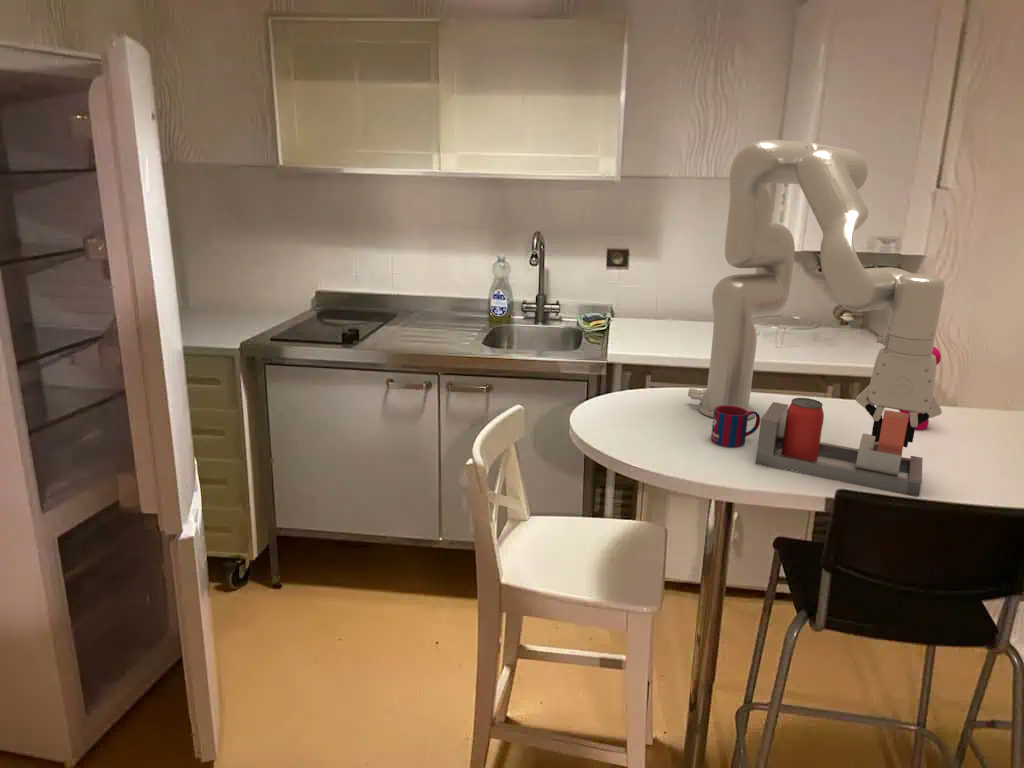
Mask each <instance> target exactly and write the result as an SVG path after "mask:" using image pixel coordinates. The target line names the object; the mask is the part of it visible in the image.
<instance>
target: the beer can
mask: <svg viewBox="0 0 1024 768" xmlns="http://www.w3.org/2000/svg"><path fill="white" fill-rule="evenodd" d="M823 406H824V405H823V402H821V401H820V400H818V399H817V400H816V399H813V398H809V397H795V398H792V399H791V403H790V405H788V410H787V417H786V424H785V431H784V438H783V445H782V449H781V451H780V452H781V453H780V454H781V455H786V456H791V457H796V458H802V459H807V460H812V461H817V462H818V457H819V456H818V450H819V444H820V442H821V438H822V437H821V436H822V430H823V425H824V424H823V423H824V418H825V417H824V409H823Z"/></svg>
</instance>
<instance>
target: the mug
mask: <svg viewBox="0 0 1024 768" xmlns="http://www.w3.org/2000/svg"><path fill="white" fill-rule="evenodd" d="M751 414H755V417H756V418H755V420H756V421H755V424H754V426H753V427H752V429H750V430H749V431H747V426H748V420H749V419H748V416H749V415H751ZM712 418H713V420H712V425H711V435H710V436H711V437H710V441H711V443H713V444H715V445H718V446H721V447H724V448H740V447H743V446H744V445H745V444H746V443H745V442H746V437H748V436H751V435H752V434H754V433H755V432H756V431H757V430H758V428H759V427H760V423H761V417H760V414H759V413H758V412H756V410H755V411H749V412H748V411H747V410H745V409H743V408H740V407H736V406H728V405H723V406H717V407H715V409H714V417H712Z"/></svg>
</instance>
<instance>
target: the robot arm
mask: <svg viewBox="0 0 1024 768" xmlns="http://www.w3.org/2000/svg"><path fill="white" fill-rule="evenodd" d="M729 171H730V172H729V208H728V214H727V215H728V216H727V224H726V231H725V232H726V234H725V241H724V242H725V243H724V257H725V261H726V262H727V264H729V266H731V267H733V268H737V269H755V273H742V274H741V273H740V274H739V273H738V274H732V275H728V276H726V277H725V276H724V278H722V279H721V280H719V281H718V282H717V283H716V285H715V286H714V288H713V290H712V298H711V300H712V301H711V302H712V310H713V311H712V313H713V331H712V339H711V340H712V341H711V350H710V351H711V352H710V358H709V359H710V361H709V370H708V378H707V388H706V389H702V390H701V389H700V390H699V389H697V388H689V389H688V393H687V396H688V397H690V399H691V400H696V401H697V400H698V401H700V402H699V403H698V406H697V407H698V408H697V410H698V411H699V412H700V413H701V414H702V415H705V416H707V417H711V418H713V417H714V409H715V407H717V406H723V405H728V406H736V407H740V408H743V409H745V410H747V411H748V412H749V411H755V412H756V410H755V408H754V407H753V406H751V405H750V401H751V400H750V398H751V390H752V382H753V377H754V375H753V374H754V366H755V358H756V352H757V351H756V350H757V341H758V337H757V330H756V328H755V325H754V322H753V318H755V317H764V316H771V315H775V314H777V313H779V312H780V311H782V310H783V309H784V307H785V306H786V305H787V303H788V299H789V295H790V290H791V289H790V288H791V282H792V277H793V276H792V275H793V267H794V259H795V253H796V246H795V240H794V237H793V234H792V232H791V230H790V229H788V228H787V226H785V225H783V224H780V223H774V222H773V223H772V222H770V217H771V211H772V202H771V196H770V193H769V190H768V189H767V187H766V185H768V184H781V185H782V184H785V185H786V184H789V185H791V184H793V185H794V184H795V185H799V187H800V189H801V191H802V193H803V195H804V196H805V197H804V198H805V199H806V201H807V204H808V205H809V207H810V209H811V211H812V213H813V215H814V217H815V219H816V221H817V223H818V225H819V227H820V230H821V231H822V239H821V242H820V251H819V252H820V256H819V259H820V267H821V272H822V274H823V277H824V278H825V280H826V283H827V285H828V287H829V289H830V291H831V292H832V295H833V296H834V297H835V299H836V301H837V302H838V303H839V304H840V306H842V307H843V308H845V309H846V310H849V311H852V312H868V311H874V310H875V311H876V310H878V311H879V310H890V315H889V319H888V320H889V321H888V327H887V331H886V332H887V333H885V334H882V335H880V334H877V337H876V343H880V344H881V345H883V346H884V347H883V348H881V349H879V351H878V354H877V356H876V359H875V360H874V361H875V362H874V365H873V369H872V372H871V373H872V374H871V377H870V383H869V385H867V386H866V387H865V388H864V389H863V390H862V391H861V392H860V393H859V394H858V395H857V396H856V397H855V401H856V403H858V404H859V405H860V406H862V407H863V408H864V409H865V410H866V412H867V413H868V415H870V417H871V418H872V420H873V424H872V425H873V426H872V431H871V435H872V436H876V437H875V442H879V438H880V432H881V427H882V421H883V414H884V411H885V409H892V410H898V411H899V410H904V411H910V420H909V422H908V423H907V429H906V434H905V439H904V444H903V448H908V445H909V443H913V442H914V436H915V432H916V430H915V427H917V426H918V425H919V424H921V423H922V422H924V421H926V420H927V419H928V420H929V419H933V418H934V417H938V416H940V415H942V413H943V411H942V407H941V406H940V404H939V403H938V400H937V398H936V396H935V395H934V390H935V383H936V375H937V374H936V373H937V365H936V357H935V355H933V354H932V350H933V346H934V345H935V344H934V343H935V338H936V334H937V330H938V329H937V328H938V323H939V319H940V313H941V308H942V303H943V298H944V293H945V282H944V280H943V279H942V278H941V277H939V276H934V275H930V274H924V273H923V274H922V273H912V272H910V271H907V270H903V269H901V268H897V267H890V266H889V267H888V266H887V267H868V268H864V266H863V265H862V262H861V260H860V259H859V256H858V255H857V252H856V249H855V246H854V241H853V240H854V239H853V238H854V232H855V231H856V230H858V229H859V228H860V227H861V226H862V225H864V224H865V222H866V221H867V219H868V216H869V209H868V207H867V205H866V203H865V202H864V200H863V197H862V196H861V195H860V193H859V190H860V189H861V188H862V187H863V186H864V184H865V183H866V181H867V178H868V173H869V172H868V171H869V169H868V165H867V162H866V159H865V158H864V157H863V156H862V155H861V153H859V151H856V150H854V149H850V148H843V147H837V146H832V145H827V144H821V143H816V142H810V141H801V140H784V139H761V140H756V141H753V142H750V143H749V144H747V145H745V146H743V148H741V149H740V150H739V151H738V152H737V154H736V156H735V157H734V158H733V161H732V163H731V167H730V170H729ZM930 407H931V409H930ZM929 409H930V410H929ZM918 413H920V414H918ZM754 417H756V415H755V414H751V415H749V416H748V420H750V419H752V418H754Z"/></svg>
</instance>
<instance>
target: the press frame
mask: <svg viewBox="0 0 1024 768" xmlns="http://www.w3.org/2000/svg"><path fill="white" fill-rule="evenodd" d="M788 408H789V404H786V403H781V402H775V401H772V402H771V404H770V405H769V407H768V408H767V410H766V411H765V413H764V415H763V416H762V417H761V418H760V423H759V431H758V439H757V447H756V455H755V462H754V463H756V464H755V465H759V464H761V465H760V466H764V465H765V466H764V467H769V466H770V468H774V467H775V469H779V468H780V470H784V469H787V470H786V471H789V470H793V471H792V472H794V471H798V472H797V473H799V472H802V473H801V474H804V473H807V474H806V475H809V474H811V475H810V476H814V475H816V476H815V477H819V476H820V477H819V478H824V477H826V478H825V479H829V478H830V480H833V479H835V481H838V480H840V481H839V482H843V481H845V483H848V482H849V484H853V485H858V486H864V487H868V488H873V489H879V490H883V491H889V492H894V493H899V494H905V495H909V496H913V497H919V496H920V491H921V487H922V482H923V459H924V457H920V456H915V455H910V458H908V457H903V456H902V457H901V462H900V467H899V472H904V473H907V477H906V478H904V477H900V476H898V477H895V476H889V475H884V474H879V473H874V472H869V471H864V470H858V469H855V468H852V467H847V466H844V465H843V466H842V465H837V464H833V463H832V464H831V463H827V462H821V461H818V460H817V461H812V460H807V459H802V458H796V457H791V456H786V455H781V453H780V452H781V451H782V445H783V438H784V431H785V424H786V417H787V410H788ZM858 450H859V448H854V447H849V446H843V445H838V444H837V445H836V444H833V443H828V442H827V443H826V442H822V441H820V444H819V450H818V457H824V458H828V459H829V458H831V459H834V460H835V459H836V460H839V461H846V462H850V463H855V464H856V462H857V456H858Z"/></svg>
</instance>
